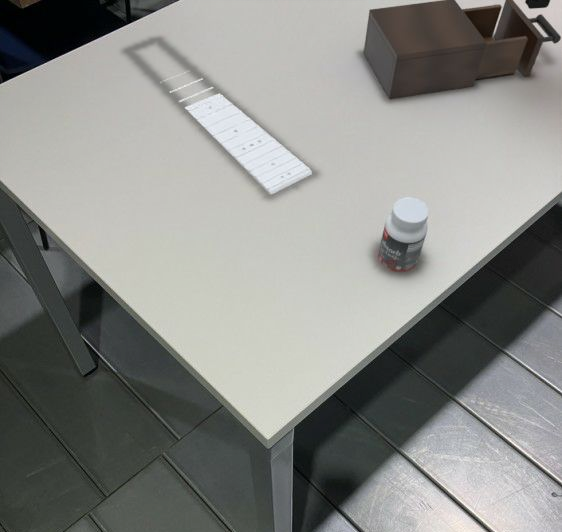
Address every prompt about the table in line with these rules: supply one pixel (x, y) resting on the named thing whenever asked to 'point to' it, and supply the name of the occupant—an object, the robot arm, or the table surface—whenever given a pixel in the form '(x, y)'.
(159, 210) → the table surface
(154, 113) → the table surface
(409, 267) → the pill bottle
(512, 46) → the drawer
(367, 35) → the cabinet
